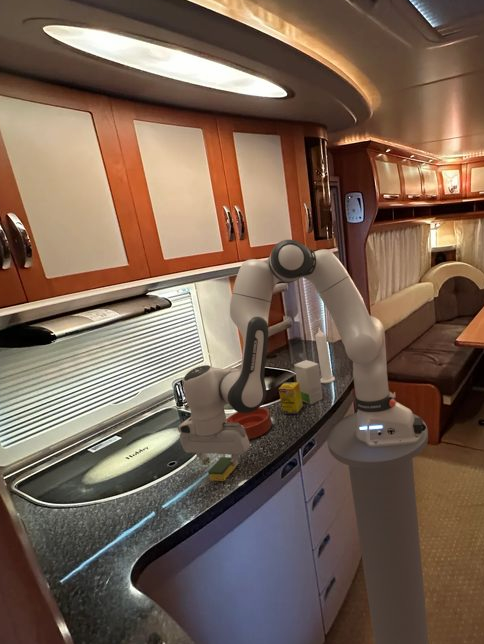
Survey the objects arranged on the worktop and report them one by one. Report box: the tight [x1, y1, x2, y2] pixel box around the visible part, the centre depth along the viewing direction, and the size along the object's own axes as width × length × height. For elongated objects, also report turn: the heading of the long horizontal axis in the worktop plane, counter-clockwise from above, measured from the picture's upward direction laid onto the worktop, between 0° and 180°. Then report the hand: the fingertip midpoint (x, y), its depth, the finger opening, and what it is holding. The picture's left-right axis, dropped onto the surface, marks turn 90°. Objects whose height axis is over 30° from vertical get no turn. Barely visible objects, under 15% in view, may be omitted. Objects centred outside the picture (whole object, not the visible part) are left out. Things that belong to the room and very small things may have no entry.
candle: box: [314, 327, 336, 384], centre depth 166 cm, size 7×7×25 cm
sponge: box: [207, 456, 237, 482], centre depth 110 cm, size 4×7×3 cm, turn 168°
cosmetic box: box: [293, 359, 324, 405], centre depth 150 cm, size 8×7×16 cm
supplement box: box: [278, 381, 304, 416], centre depth 142 cm, size 6×6×11 cm
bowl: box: [226, 406, 273, 441], centre depth 132 cm, size 15×15×5 cm
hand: (220, 464), depth 109 cm, fingers open, 8 cm apart
